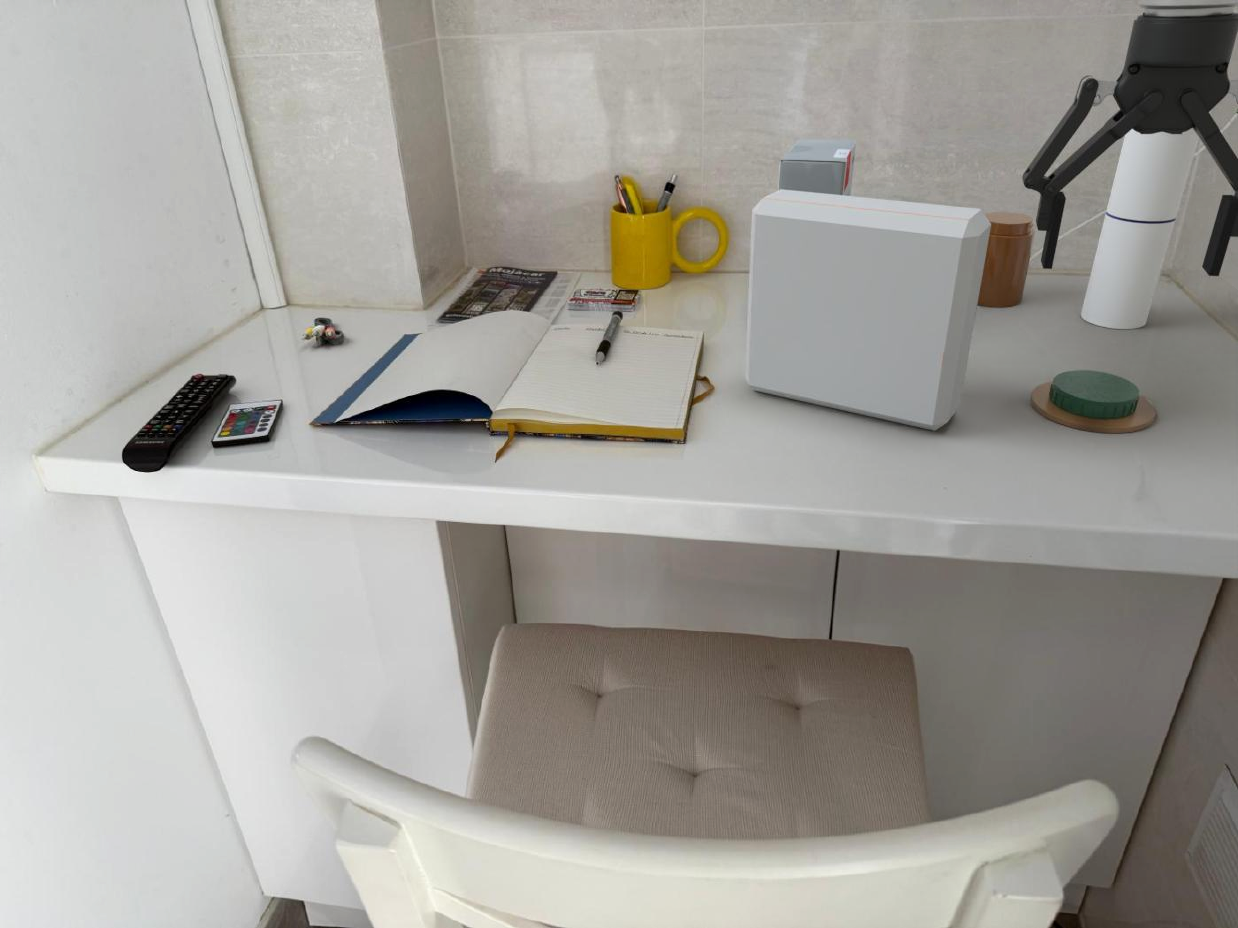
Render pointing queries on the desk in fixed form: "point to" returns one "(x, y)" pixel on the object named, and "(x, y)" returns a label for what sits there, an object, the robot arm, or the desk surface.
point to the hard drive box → (818, 166)
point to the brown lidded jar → (1006, 259)
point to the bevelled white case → (864, 303)
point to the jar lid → (1094, 394)
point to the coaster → (1119, 425)
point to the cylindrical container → (1138, 227)
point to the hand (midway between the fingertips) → (1126, 268)
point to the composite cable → (323, 332)
